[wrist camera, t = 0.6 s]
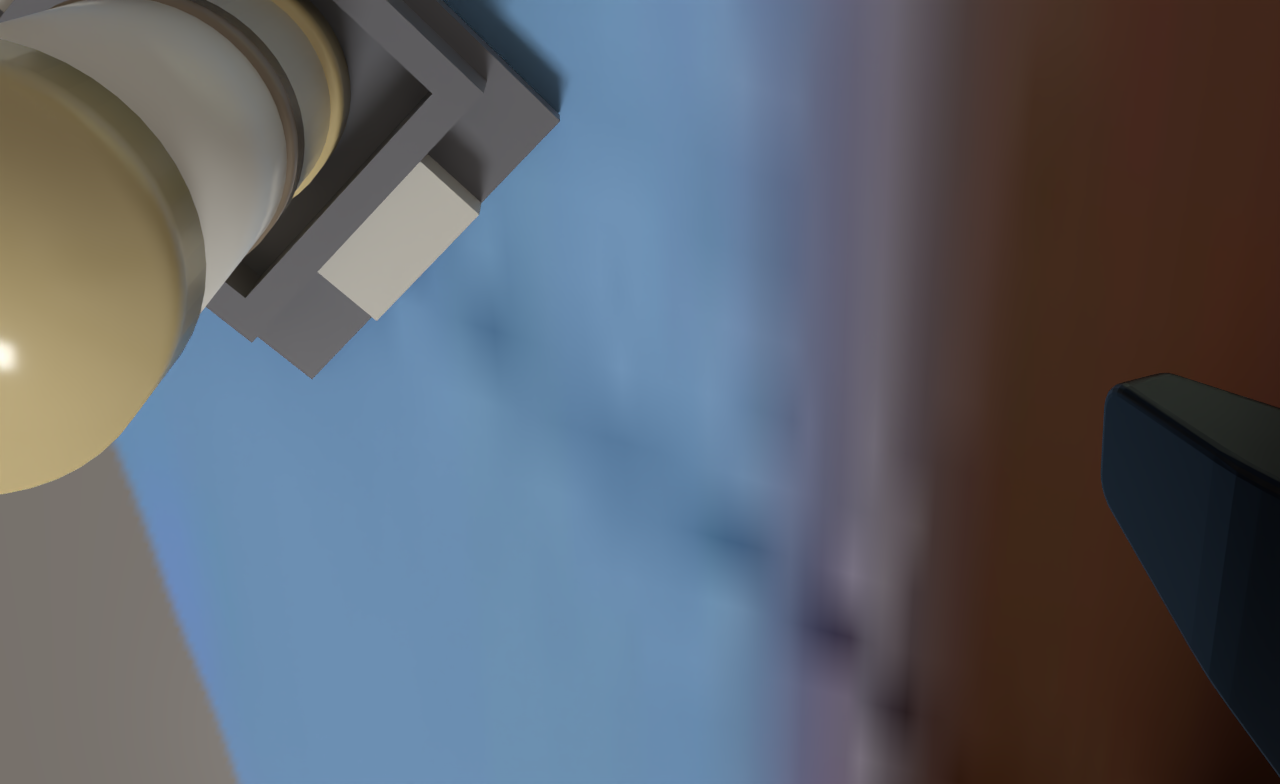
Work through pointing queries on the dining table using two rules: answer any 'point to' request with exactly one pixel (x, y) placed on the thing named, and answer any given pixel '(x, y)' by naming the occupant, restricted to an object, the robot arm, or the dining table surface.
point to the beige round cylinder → (139, 195)
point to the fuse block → (380, 175)
